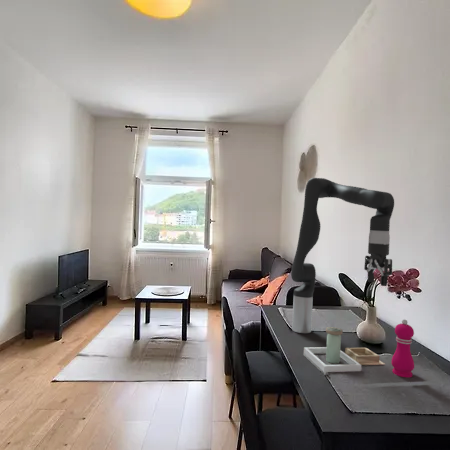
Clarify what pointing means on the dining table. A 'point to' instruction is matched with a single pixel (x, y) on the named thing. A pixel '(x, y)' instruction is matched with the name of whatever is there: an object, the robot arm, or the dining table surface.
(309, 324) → the robot arm
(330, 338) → the green lidded jar
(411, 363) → the pepper mill
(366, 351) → the holder
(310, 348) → the tray
